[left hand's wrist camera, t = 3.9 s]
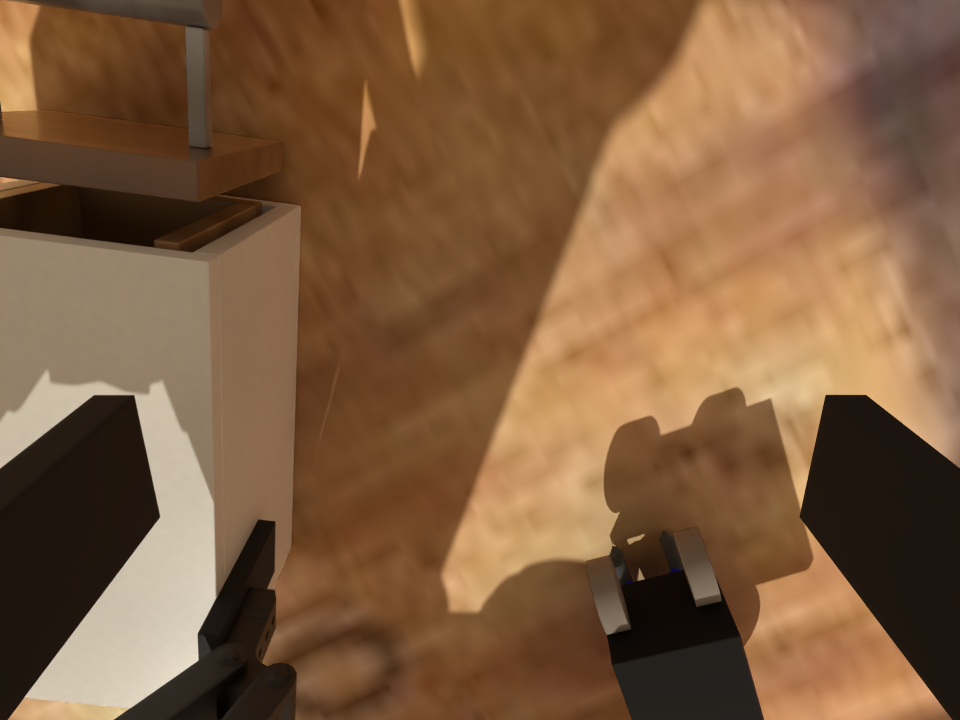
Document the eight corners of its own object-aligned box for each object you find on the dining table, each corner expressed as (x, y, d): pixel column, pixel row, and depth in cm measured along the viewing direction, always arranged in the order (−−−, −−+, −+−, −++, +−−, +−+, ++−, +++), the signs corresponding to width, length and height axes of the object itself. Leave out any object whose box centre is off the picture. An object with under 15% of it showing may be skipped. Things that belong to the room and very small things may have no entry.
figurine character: (564, 518, 37) (643, 726, 41) (577, 603, 30) (672, 848, 33) (682, 482, 36) (752, 698, 40) (725, 561, 29) (806, 817, 32)
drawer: (34, -41, 25) (-184, -105, 17) (286, -4, 26) (192, -50, 17) (88, 475, 34) (-40, 598, 25) (276, 496, 34) (210, 624, 26)
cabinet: (56, 172, 29) (-167, 214, 19) (301, 205, 29) (208, 262, 19) (93, 525, 36) (-57, 690, 26) (291, 547, 36) (219, 717, 26)
